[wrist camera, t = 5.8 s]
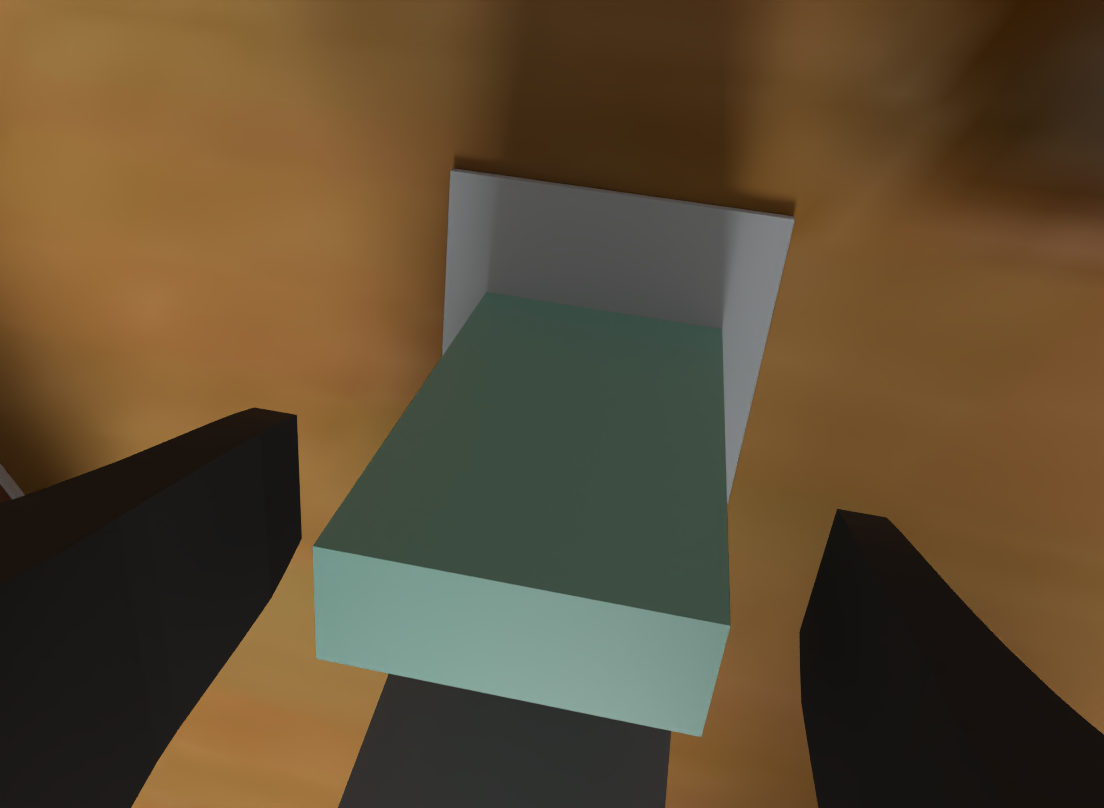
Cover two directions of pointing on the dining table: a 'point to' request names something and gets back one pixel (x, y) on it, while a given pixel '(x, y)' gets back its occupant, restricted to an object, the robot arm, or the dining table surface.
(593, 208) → the coaster
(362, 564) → the domino
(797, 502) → the dining table surface
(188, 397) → the dining table surface
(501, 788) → the domino
